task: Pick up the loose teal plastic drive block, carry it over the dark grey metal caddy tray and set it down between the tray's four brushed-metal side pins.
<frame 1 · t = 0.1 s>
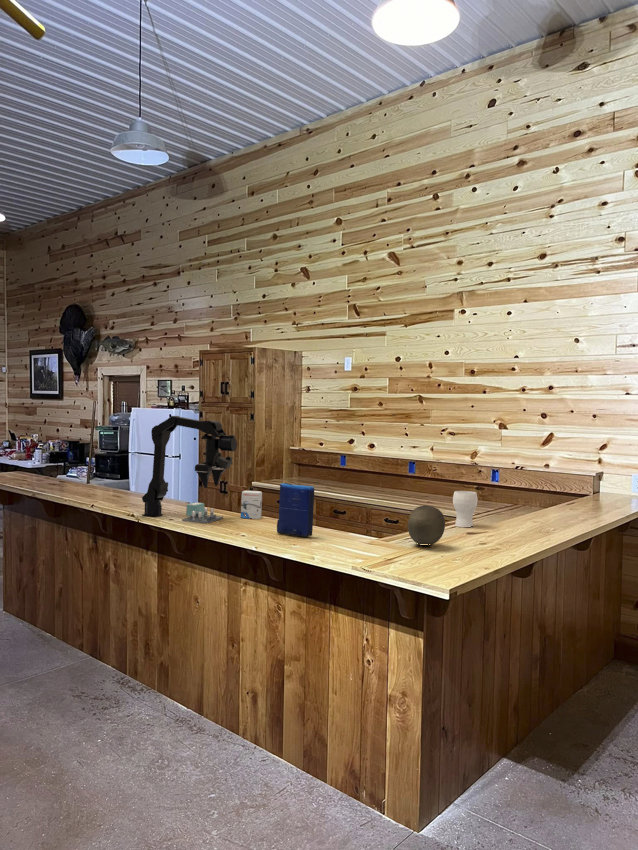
hand: (211, 486, 273), 15 cm above the worktop, fingers open, 9 cm apart
tray: (202, 519, 276), on the worktop
cup: (464, 526, 282), on the worktop
drive: (195, 515, 288), on the worktop
book: (294, 536, 248), on the worktop
ink box: (250, 518, 284), on the worktop
dark grey sphere: (425, 547, 236), on the worktop
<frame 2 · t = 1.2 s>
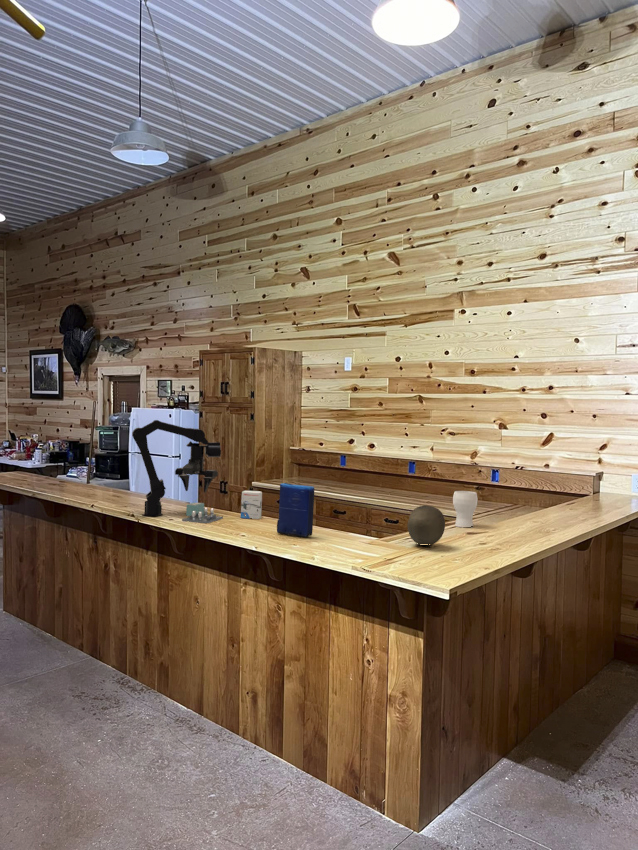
hand: (195, 491, 287), 10 cm above the worktop, fingers open, 9 cm apart
nothing on the worktop moved.
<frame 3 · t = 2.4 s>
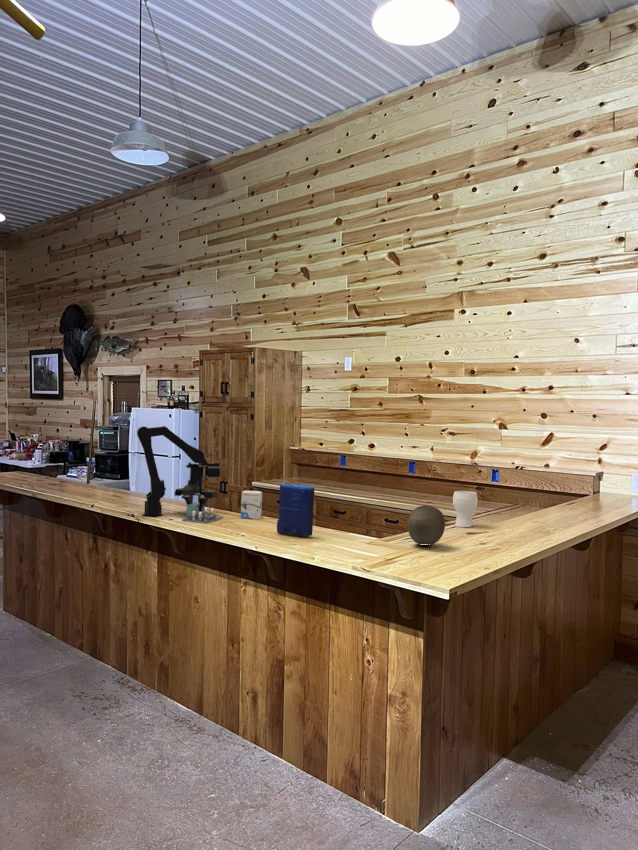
hand: (195, 512, 288), 1 cm above the worktop, fingers closed on drive, 4 cm apart
drive: (195, 515, 288), on the worktop, touching gripper
everything else where it was.
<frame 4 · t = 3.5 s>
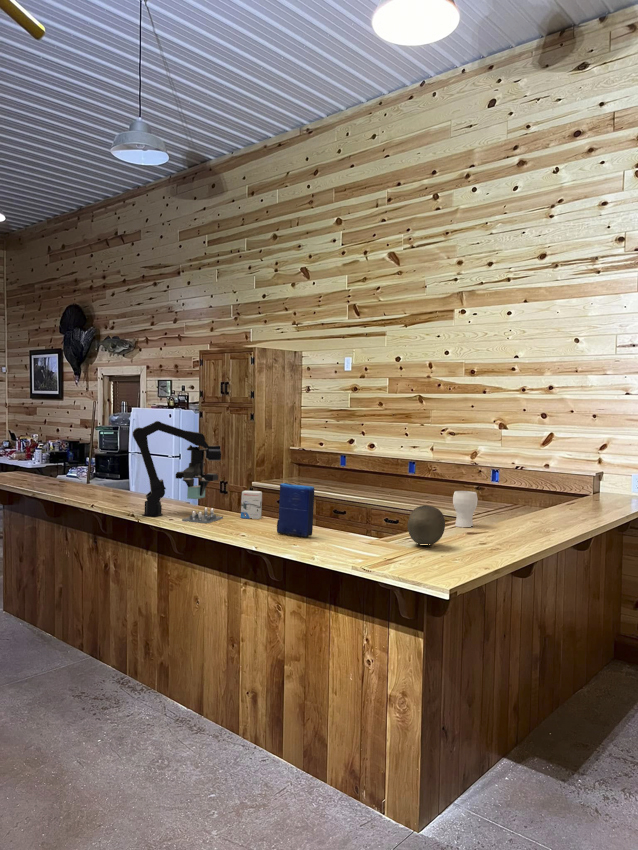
hand: (196, 495, 287), 9 cm above the worktop, fingers closed on drive, 4 cm apart
drive: (196, 497, 287), point 8 cm above the worktop, touching gripper
everything else where it was.
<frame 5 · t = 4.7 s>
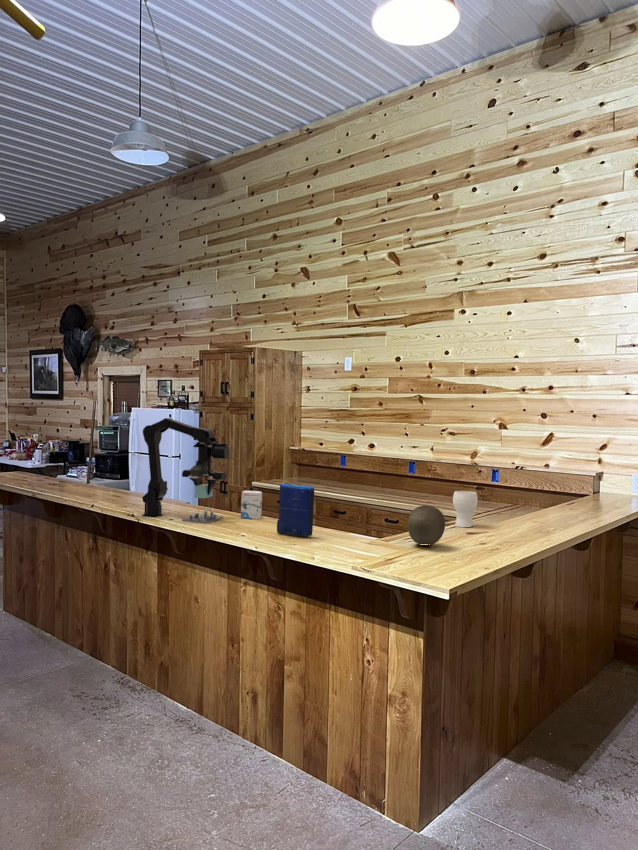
hand: (203, 494, 276), 11 cm above the worktop, fingers closed on drive, 4 cm apart
drive: (203, 496, 276), point 10 cm above the worktop, touching gripper
everything else where it was.
when the fingers open (3 cm above the worktop, at t = 6.4 s): drive drops 1 cm, resting on tray.
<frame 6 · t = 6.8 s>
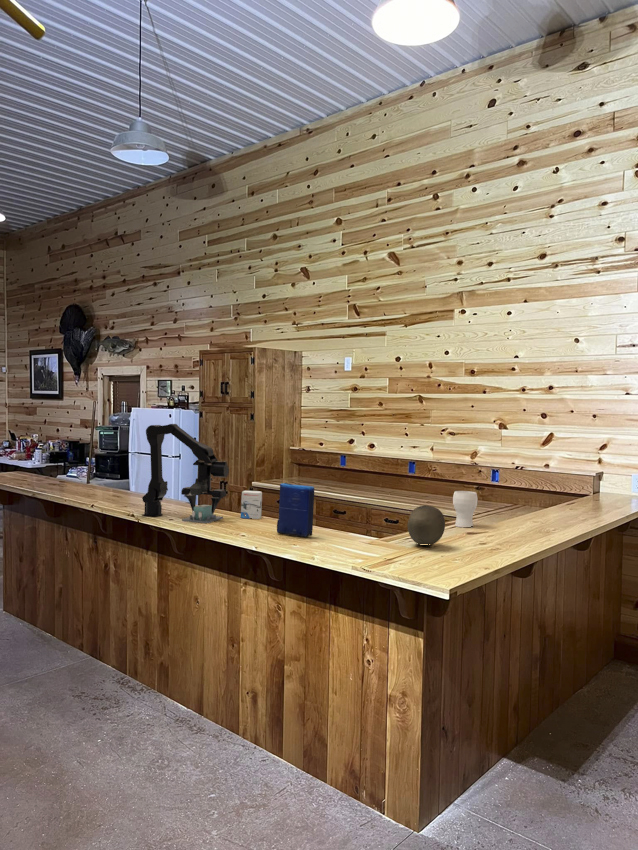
hand: (203, 512, 276), 3 cm above the worktop, fingers open, 9 cm apart
drive: (202, 517, 276), point 1 cm above the worktop, touching tray
everything else where it was.
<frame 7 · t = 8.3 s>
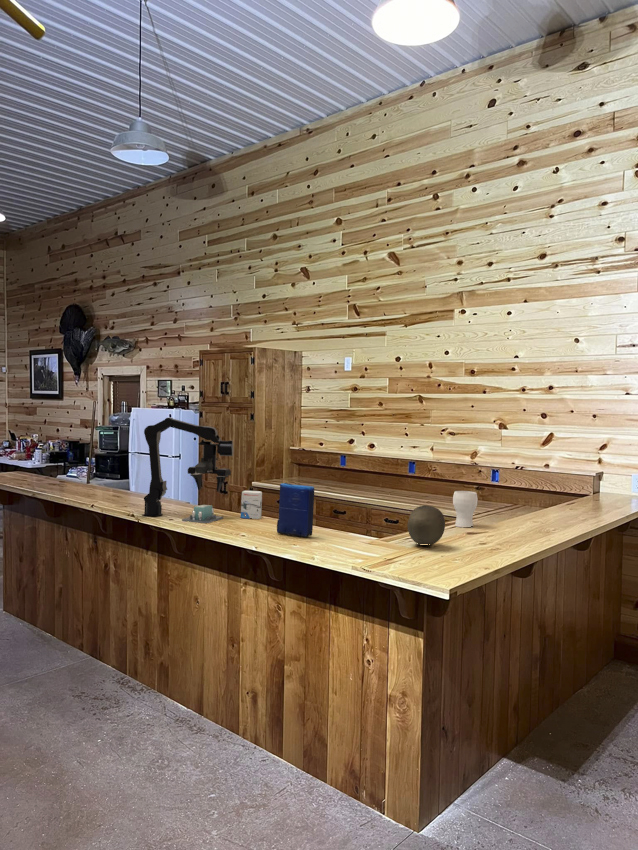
hand: (208, 491, 281), 12 cm above the worktop, fingers open, 9 cm apart
nothing on the worktop moved.
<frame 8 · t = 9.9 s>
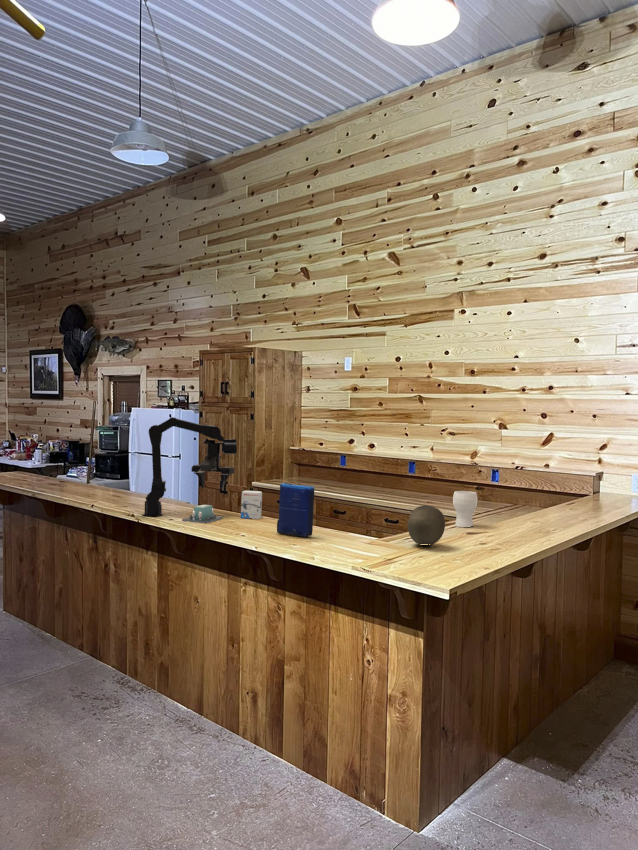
hand: (212, 488, 287), 12 cm above the worktop, fingers open, 9 cm apart
nothing on the worktop moved.
at the end: drive 0.1 cm off-centre on the tray, point 0.8 cm above the tray's base; drive tilted 0°; the gripper is holding nothing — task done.
